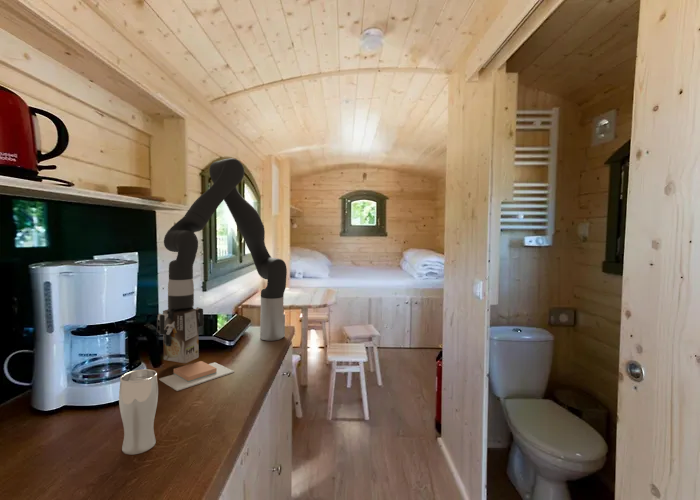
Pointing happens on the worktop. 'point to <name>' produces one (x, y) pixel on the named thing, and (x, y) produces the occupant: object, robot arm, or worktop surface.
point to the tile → (195, 371)
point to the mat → (180, 383)
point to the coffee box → (183, 336)
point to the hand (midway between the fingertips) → (181, 342)
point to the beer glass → (138, 409)
